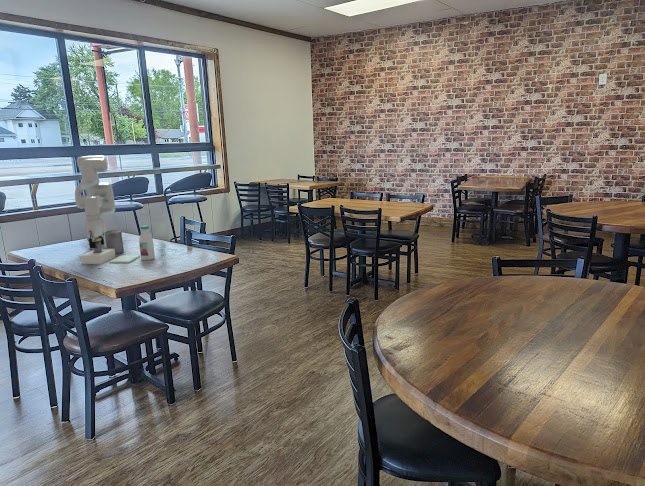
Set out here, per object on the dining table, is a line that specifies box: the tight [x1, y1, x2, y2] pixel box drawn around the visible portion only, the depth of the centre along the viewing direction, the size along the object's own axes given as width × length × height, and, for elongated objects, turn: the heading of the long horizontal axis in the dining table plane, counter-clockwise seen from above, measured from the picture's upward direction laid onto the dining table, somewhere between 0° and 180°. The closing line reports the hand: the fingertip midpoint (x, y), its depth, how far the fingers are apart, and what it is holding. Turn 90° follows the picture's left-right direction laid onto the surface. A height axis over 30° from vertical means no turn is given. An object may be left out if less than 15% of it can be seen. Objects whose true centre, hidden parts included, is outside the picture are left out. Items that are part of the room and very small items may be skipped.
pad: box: [108, 254, 141, 264], centre depth 269 cm, size 14×12×1 cm
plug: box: [92, 237, 102, 253], centre depth 268 cm, size 6×6×13 cm
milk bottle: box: [138, 224, 156, 261], centre depth 268 cm, size 8×8×20 cm
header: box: [80, 248, 117, 265], centre depth 269 cm, size 16×12×5 cm
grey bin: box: [105, 229, 125, 255], centre depth 286 cm, size 10×10×15 cm
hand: (97, 246), depth 268 cm, fingers open, 9 cm apart
